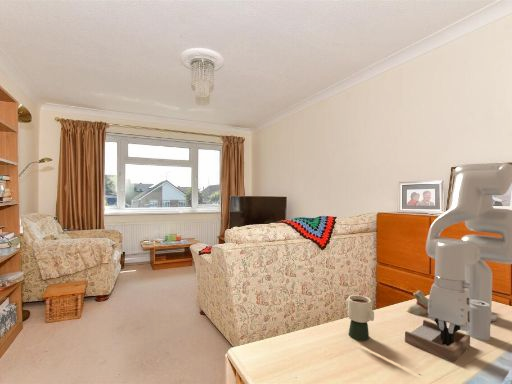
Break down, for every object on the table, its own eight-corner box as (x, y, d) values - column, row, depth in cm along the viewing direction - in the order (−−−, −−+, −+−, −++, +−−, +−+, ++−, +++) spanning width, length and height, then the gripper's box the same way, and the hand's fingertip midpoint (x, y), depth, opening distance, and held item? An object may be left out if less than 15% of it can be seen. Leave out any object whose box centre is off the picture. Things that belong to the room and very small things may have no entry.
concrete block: (422, 330, 95) (422, 324, 95) (442, 338, 90) (442, 332, 90) (408, 339, 89) (409, 333, 89) (429, 348, 84) (429, 341, 84)
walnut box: (424, 331, 97) (424, 319, 97) (469, 348, 86) (470, 335, 86) (404, 344, 88) (405, 332, 88) (453, 365, 78) (453, 351, 78)
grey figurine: (427, 321, 104) (428, 294, 104) (405, 314, 110) (405, 288, 110) (432, 317, 108) (433, 291, 108) (410, 310, 114) (411, 285, 114)
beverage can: (494, 344, 89) (495, 307, 89) (471, 342, 90) (472, 305, 90) (482, 334, 95) (483, 299, 95) (461, 332, 97) (462, 297, 97)
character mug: (380, 344, 88) (381, 303, 88) (364, 350, 84) (365, 307, 84) (353, 329, 97) (354, 291, 97) (338, 333, 94) (339, 294, 94)
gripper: (483, 288, 81) (481, 351, 81) (427, 274, 93) (425, 330, 93) (475, 293, 77) (473, 360, 77) (417, 278, 88) (415, 336, 88)
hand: (447, 343), depth 85 cm, fingers closed
